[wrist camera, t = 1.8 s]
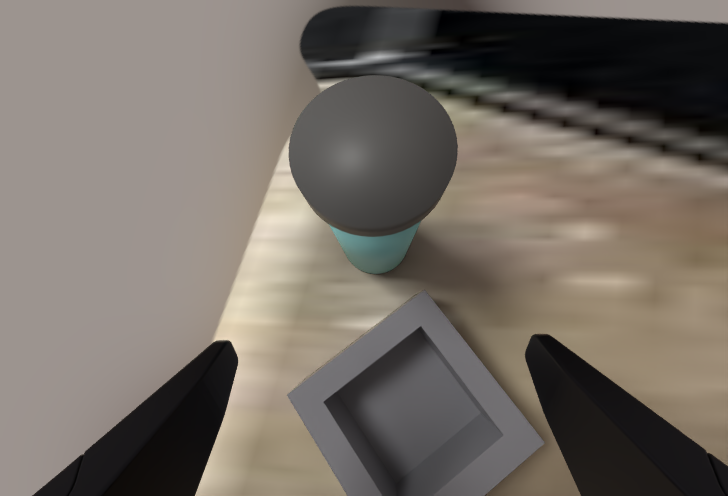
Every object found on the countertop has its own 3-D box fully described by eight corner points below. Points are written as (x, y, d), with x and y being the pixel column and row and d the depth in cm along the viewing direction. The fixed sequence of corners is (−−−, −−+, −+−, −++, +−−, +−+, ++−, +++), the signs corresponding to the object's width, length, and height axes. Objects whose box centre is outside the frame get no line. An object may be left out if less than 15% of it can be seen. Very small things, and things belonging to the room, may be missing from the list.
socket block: (391, 517, 18) (394, 573, 14) (304, 379, 20) (286, 394, 16) (510, 416, 19) (544, 442, 15) (416, 294, 21) (424, 289, 17)
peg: (368, 292, 21) (352, 262, 9) (325, 235, 22) (258, 133, 10) (426, 248, 22) (493, 159, 9) (382, 194, 23) (387, 48, 10)
